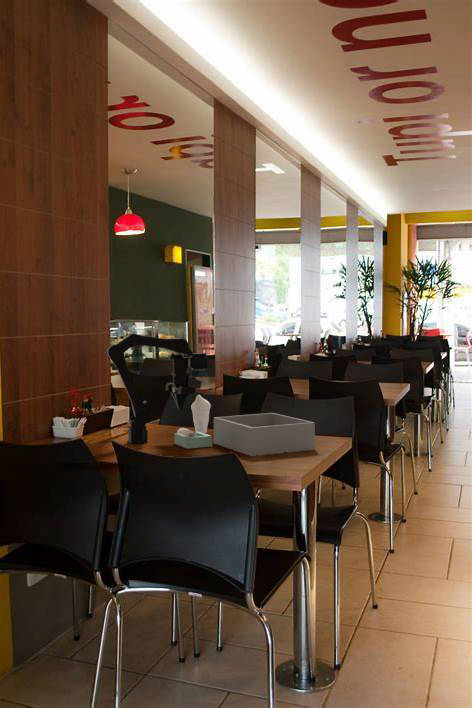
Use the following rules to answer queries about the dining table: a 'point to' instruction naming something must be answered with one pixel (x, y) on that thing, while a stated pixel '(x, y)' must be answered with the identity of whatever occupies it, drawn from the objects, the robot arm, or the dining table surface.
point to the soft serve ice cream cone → (200, 414)
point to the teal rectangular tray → (193, 440)
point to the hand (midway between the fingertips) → (180, 410)
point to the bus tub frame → (264, 433)
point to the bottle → (186, 432)
